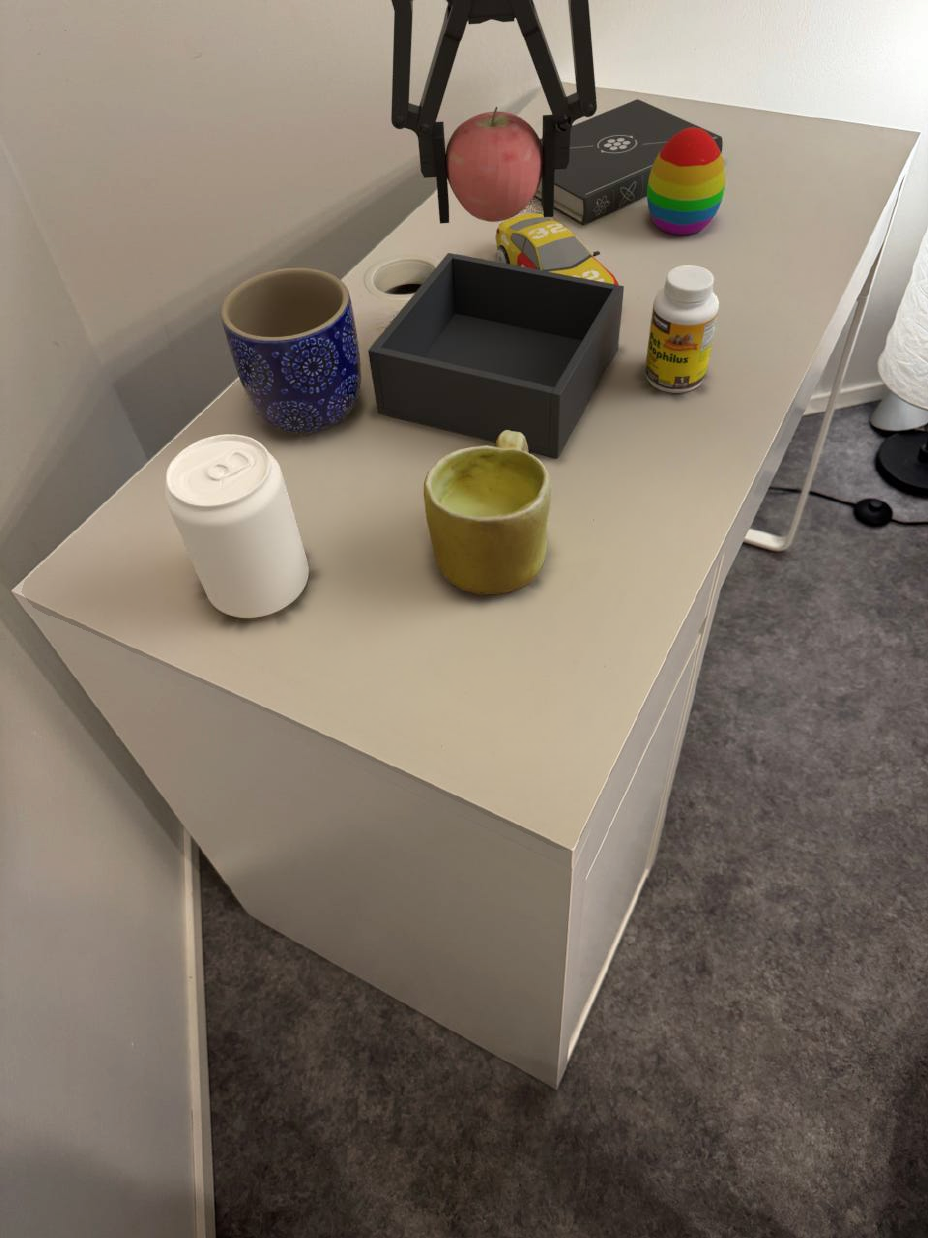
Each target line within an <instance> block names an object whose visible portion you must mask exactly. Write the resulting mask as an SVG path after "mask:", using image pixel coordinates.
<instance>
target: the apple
mask: <svg viewBox="0 0 928 1238" xmlns="http://www.w3.org/2000/svg"><path fill="white" fill-rule="evenodd" d="M497 110H498V106H495V108H494V111H488V112H483V113H479V114H476V115H473V116H472V117H469V118H468V119H466V120H465V121H463V122H462V123H460V125H459V126H457V127H456V128H455V129H454V131H453V133H452V134H451V136H450V138H449V140H448V142H447V145H446V148H445V152H446V174H447V182H448V185H449V186H450V189H451V191H452V192H453V194H454V196H455V198H456V199H457V201H458V203H459V204H460V205H461V206H462V208H463V209H464V210H465V211H466V212H467V213H468V214H469V215H470V216H472V217H474V218H476V219H478V220H481V221H485V222H489V223H497V222H504V221H506V220H508V219H511V218H513V217H516V216H518V215H519V214H521V212H523V211H524V210H525V208H526V207H527V206H528V205H529V204H530V203H531V201H532V200H533V199H534V198H535V197H534V195H535V193H536V191H537V189H538V187H539V184H540V181H541V177H542V172H543V165H544V156H543V147H542V144H541V141H540V139H541V138H540V137H539V135H538V134H537V132H536V130H535V129H534V127H533V126H532V125H531V124H530V123H529V122H527V121H526V120H525V119H523V118H522V117H520V116H518V115H516V114H514V113H511V112H507V111H497Z"/></svg>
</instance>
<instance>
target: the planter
mask: <svg viewBox="0 0 928 1238" xmlns="http://www.w3.org/2000/svg"><path fill="white" fill-rule="evenodd" d="M220 318H221V323H222V328H223V331H224V334H225V338H226V341H227V345H228V349H229V352H230V354H231V358H232V361H233V363H234V367H235V370H236V373H237V376H238V379H239V381H240V384H241V386H242V390H243V392H244V394H245V396H246V398H247V401H248V403H249V404H250V406H251V407H252V409H253V410H254V411H255V413H256V414H257V415H258V416H259V417H260V418H261V419H262V420H263V421H265V422H266V423H267V424H269V425H270V426H272V427H274V428H276V429H278V430H280V431H284V432H287V433H292V434H313V433H318V432H321V431H325V430H328V429H329V428H331V427H333V426H335V425H337V424H339V423H340V422H342V421H343V419H345V418H346V417H347V416H348V415H349V413H350V412H351V411H352V410H353V408H354V406H355V404H356V403H357V401H358V398H359V395H360V393H361V390H362V389H361V388H362V378H363V377H362V363H361V362H362V361H361V353H360V346H359V337H358V332H357V326H356V321H355V314H354V309H353V303H352V300H351V296H350V292H349V290H348V287H347V286H346V284H345V282H344V281H342V280H341V279H339V278H338V277H337V276H335V275H334V274H331V273H329V272H327V271H324V270H321V269H316V268H309V267H286V268H285V267H284V268H279V269H274V270H269V271H266V272H262V273H260V274H257V275H255V276H252V277H250V278H248V279H246V280H244V281H243V282H241V283H240V284H238V285H237V286H235V287H234V288H233V289H232V290H231V291H230V292H229V293H228V295H226V297H225V298H224V300H223V302H222V304H221V308H220Z"/></svg>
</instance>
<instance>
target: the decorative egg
mask: <svg viewBox="0 0 928 1238" xmlns="http://www.w3.org/2000/svg"><path fill="white" fill-rule="evenodd" d="M722 155H723V154H721V152H720V150H719V148H718V146H717V144H716V142H715V141H714V139H713V138H712V137H711V136H710V135H709V134H708V133H707V132H706V131H704V130H703V129H700V128H696V127H690V128H686V129H683V130H681V131H680V132H678V133H677V134H675V135H674V136H673V137H672V138H671V139H670V140H669V141H668V142H667V143H666V144H665V145H664V147H663V148H662V149H661V151H660V152H659V154H658V156H657V158H656V160H655V162H654V164H653V166H652V169H651V172H650V176H649V180H648V185H647V196H646V202H647V207H648V212H649V214H650V217H651V218H652V220H653V222H654V224H655V225H656V227H658V228H659V229H660V230H662V231H663V232H664V233H665V232H666V233H668V234H671V235H678V236H687V235H692V234H696V233H699V232H700V231H702V230H703V229H705V228H706V227H707V226H708V225H709V224H710V223H711V221H712V220H713V219H714V218H715V216H716V215H717V213H718V211H719V209H720V207H721V204H722V202H723V197H724V194H725V188H726V169H725V163H724V158H723V156H722Z"/></svg>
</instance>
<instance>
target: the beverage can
mask: <svg viewBox="0 0 928 1238" xmlns="http://www.w3.org/2000/svg"><path fill="white" fill-rule="evenodd" d="M276 459H277V458H275V457H274V456H273V454H271V453H270V452H268V449H267V448H266V447H265V445H263V444H262V443H261V442H260V441H258V440H257V439H255V438H252V437H250V436H246V435H241V434H230V433H228V434H218V435H213V436H209V437H205V438H201V439H199V440H197V441H195V442H194V443H191V444H189V445H188V446H186V447H185V448H183V449H182V450H181V451H180V452H178V454H176V456H174V458H173V459H172V460H171V462H170V463H169V465H168V467H167V470H166V474H165V483H166V484H165V488H164V499H165V503H166V507H167V508H168V511H169V512H170V515H171V517H172V519H173V521H174V524H175V526H176V528H177V531H178V533H179V535H180V538H181V540H182V542H183V544H184V547H185V549H186V552H187V553H188V556H189V558H190V560H191V563H192V566H193V567H194V569H195V572H196V574H197V577H198V579H199V581H200V583H201V586H202V588H203V590H204V593H205V594H206V597H207V599H208V601H209V602H210V604H212V606H213V607H214V608H216V609H217V610H218V611H219V612H221V613H223V614H225V615H228V616H231V617H234V618H238V619H239V618H240V619H255V618H262V617H266V616H269V615H272V614H275V613H278V612H279V611H281V610H283V609H285V608H286V607H288V606H289V605H291V604H292V603H293V602H294V601H295V600H296V599H297V598H298V597H300V595H301V593H303V591H304V590H305V587H306V586H307V583H308V580H309V576H310V567H309V561H308V558H307V555H306V552H305V548H304V544H303V542H302V538H301V534H300V531H299V527H298V524H297V521H296V517H295V514H294V510H293V506H292V503H291V500H290V496H289V493H288V489H287V485H286V482H285V479H284V474H283V472H282V471H283V470H282V468H281V466H280V464H279V462H278V461H277V460H276Z"/></svg>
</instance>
